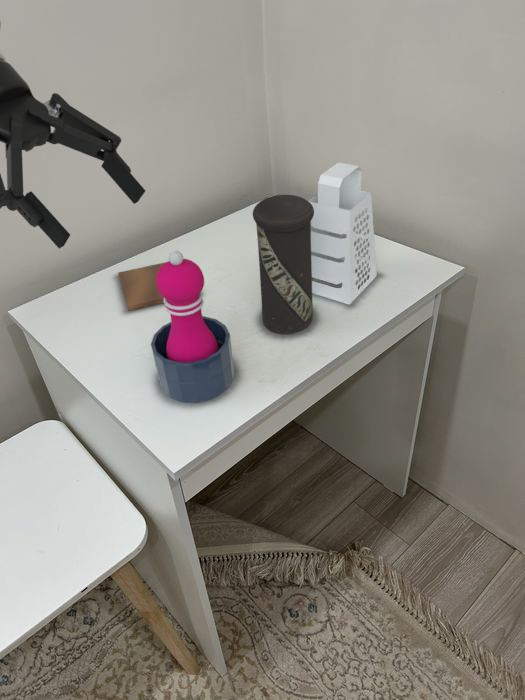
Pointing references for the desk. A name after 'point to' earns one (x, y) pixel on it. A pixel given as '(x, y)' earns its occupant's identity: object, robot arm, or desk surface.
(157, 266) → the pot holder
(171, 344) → the pepper mill
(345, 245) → the grater
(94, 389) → the desk surface
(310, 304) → the container
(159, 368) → the pot
